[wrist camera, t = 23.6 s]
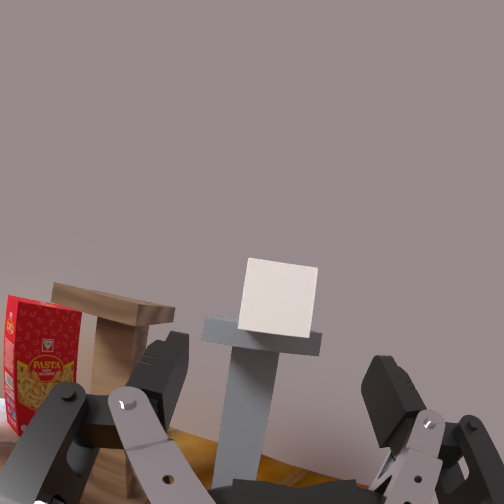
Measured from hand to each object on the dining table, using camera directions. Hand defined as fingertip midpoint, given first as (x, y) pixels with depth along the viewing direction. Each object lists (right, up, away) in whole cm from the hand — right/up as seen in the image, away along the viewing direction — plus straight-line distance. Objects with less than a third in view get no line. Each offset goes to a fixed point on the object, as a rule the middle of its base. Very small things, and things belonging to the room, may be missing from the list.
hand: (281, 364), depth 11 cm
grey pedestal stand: (-5, -32, +13) cm, 35 cm away
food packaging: (-42, -29, +24) cm, 56 cm away
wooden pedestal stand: (-21, -30, +13) cm, 38 cm away
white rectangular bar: (0, -2, +14) cm, 14 cm away
